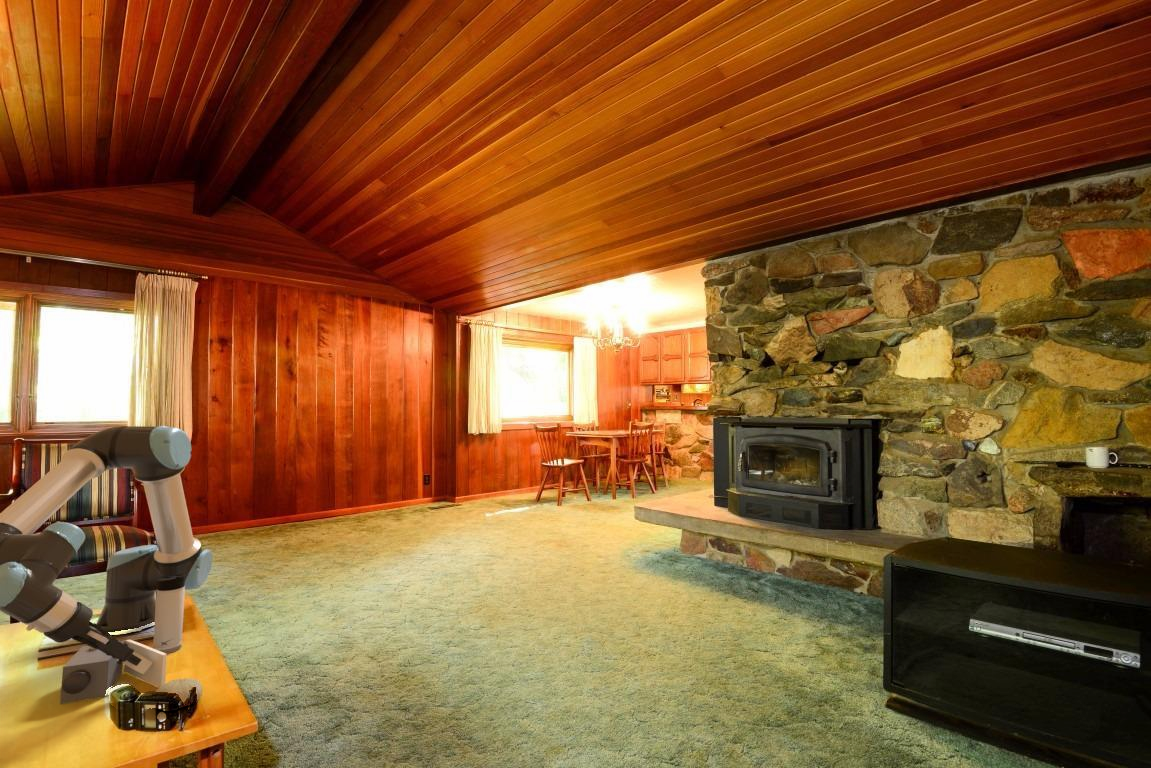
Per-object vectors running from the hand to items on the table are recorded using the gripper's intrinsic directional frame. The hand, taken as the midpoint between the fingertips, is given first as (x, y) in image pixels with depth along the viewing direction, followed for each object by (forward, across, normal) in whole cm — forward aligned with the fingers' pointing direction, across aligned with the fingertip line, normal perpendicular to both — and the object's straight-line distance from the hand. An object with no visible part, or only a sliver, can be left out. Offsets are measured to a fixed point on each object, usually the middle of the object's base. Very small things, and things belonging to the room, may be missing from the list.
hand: (145, 667), depth 128 cm
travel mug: (+13, -18, +7) cm, 23 cm away
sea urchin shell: (+4, +14, -4) cm, 15 cm away
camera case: (-1, -10, -7) cm, 13 cm away
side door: (+4, -4, -2) cm, 6 cm away
